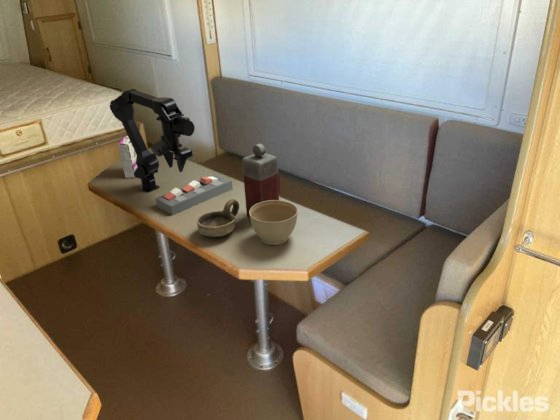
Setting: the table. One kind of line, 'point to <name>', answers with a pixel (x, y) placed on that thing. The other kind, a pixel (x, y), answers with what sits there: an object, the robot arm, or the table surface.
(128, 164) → the candy bar box
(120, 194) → the table surface
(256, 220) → the planter bowl
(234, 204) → the bowl
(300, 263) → the table surface
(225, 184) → the power board
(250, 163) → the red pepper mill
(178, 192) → the rocker
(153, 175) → the robot arm
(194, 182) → the block
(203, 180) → the rocker
